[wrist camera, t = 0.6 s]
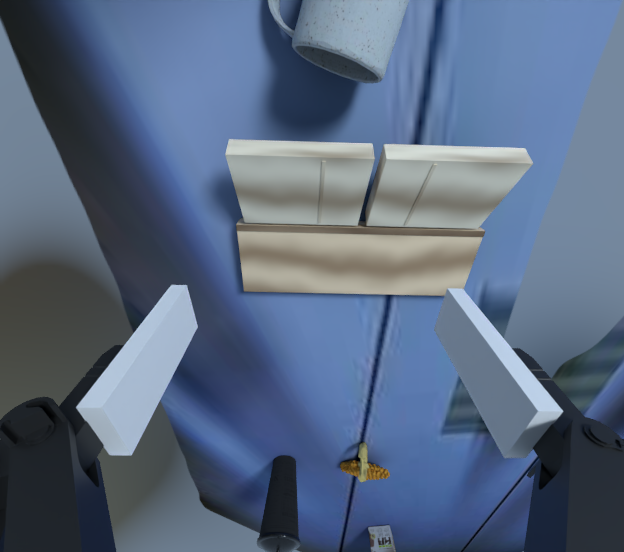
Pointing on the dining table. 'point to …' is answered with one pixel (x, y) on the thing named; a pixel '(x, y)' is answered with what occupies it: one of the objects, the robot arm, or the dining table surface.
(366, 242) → the laid board
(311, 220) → the plank
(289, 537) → the drinking cup
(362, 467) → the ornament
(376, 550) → the coffee box
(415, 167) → the plank
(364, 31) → the ceramic mug
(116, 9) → the dining table surface
